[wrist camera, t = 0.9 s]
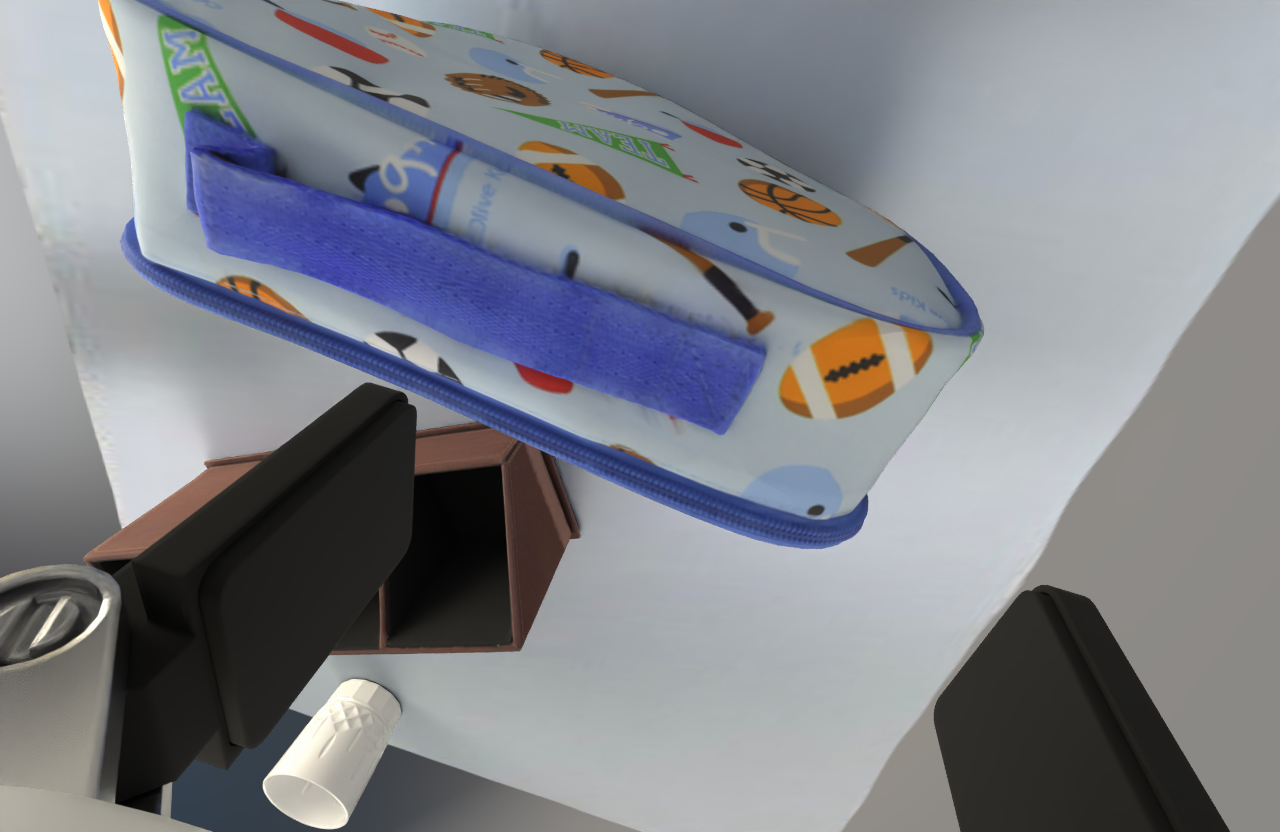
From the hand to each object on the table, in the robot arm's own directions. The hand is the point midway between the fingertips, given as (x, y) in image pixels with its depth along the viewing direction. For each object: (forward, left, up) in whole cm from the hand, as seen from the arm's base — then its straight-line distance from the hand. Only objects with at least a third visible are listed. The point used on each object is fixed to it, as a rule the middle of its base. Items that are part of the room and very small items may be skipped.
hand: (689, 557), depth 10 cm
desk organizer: (+18, -28, -27) cm, 44 cm away
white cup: (+43, -39, -27) cm, 65 cm away
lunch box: (-2, -6, -27) cm, 28 cm away
